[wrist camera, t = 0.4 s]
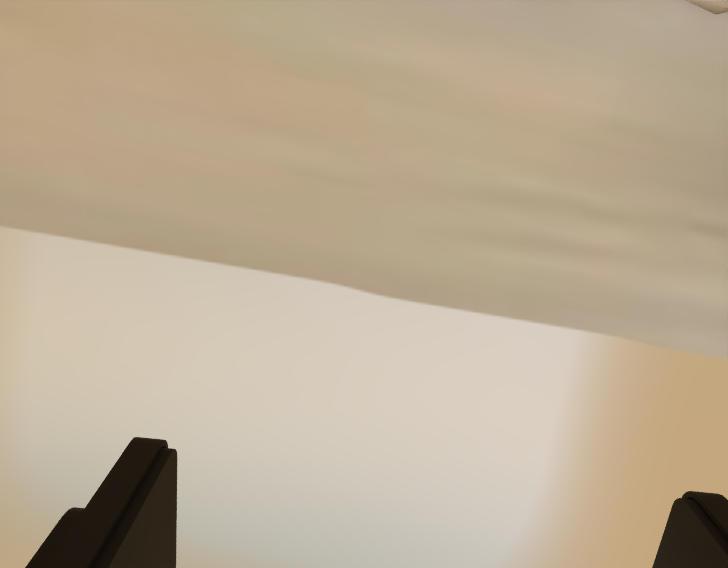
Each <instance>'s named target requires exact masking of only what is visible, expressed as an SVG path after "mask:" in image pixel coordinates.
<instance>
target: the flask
mask: <svg viewBox="0 0 728 568" xmlns="http://www.w3.org/2000/svg"><path fill="white" fill-rule="evenodd" d="M687 1H689V2H691V3H693V4H695V5H697V6H700V7H702V8H704V9H706V10H708V11H710V12H712V13H714V14H719V13H722V12H726V11H728V0H687Z"/></svg>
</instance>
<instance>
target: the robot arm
mask: <svg viewBox="0 0 728 568" xmlns="http://www.w3.org/2000/svg"><path fill="white" fill-rule="evenodd" d="M176 513H177V451H176V450H175V449H169V448H168V444H167V442H166V440H160V439H150V438H140V437H135V438H133V439H132V440H131V442H130V443H129V444H128V446H127V447H126V449H125V450H124V452H123V453H122V455H121V456H120V458H119V459H118V461H117V462H116V463H115V465H114V467H113V468H112V470H111V471H110V472H109V474H108V475H107V477H106V478H105V480H104V481H103V482H102V484H101V485H100V487H99V488H98V490H97V491H96V493H95V494H94V496H93V497H92V499H91V500H90V502H89V503H88V504H87V506H86V507H85V508H71V509H69V510H68V511H67V512H66V513H65V514H64V515H63V516H62V518H61V519H60V520H59V522H58V523H57V525H56V526H55V527H54V529H53V530H52V532H51V533H50V534H49V536H48V537H47V538H46V540H45V541H44V543H43V544H42V545H41V547H40V548H39V549H38V551H37V552H36V554H35V555H34V556H33V558H32V559H31V560H30V562H29V563H28V565H27V566H26V567H25V568H176V519H177V514H176ZM652 568H728V500H727V499H726V498H725V497H724V496H723V495H720V494H714V493H704V492H693V491H689V492H686V493H685V494H684V495H683V496H682V498H679V499H676V500H675V501H674V503H673V506H672V509H671V512H670V515H669V518H668V521H667V524H666V527H665V530H664V533H663V536H662V540H661V543H660V546H659V549H658V552H657V555H656V558H655V561H654V564H653V567H652Z"/></svg>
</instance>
